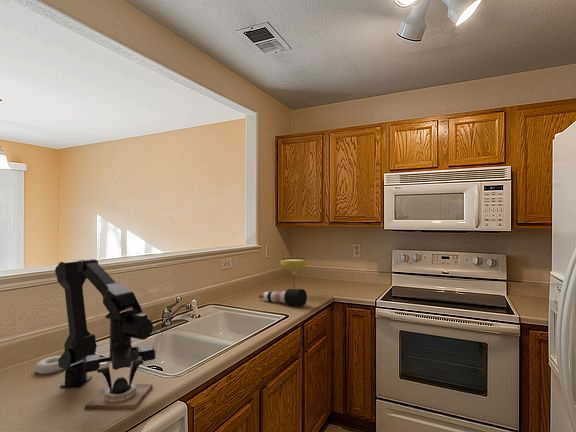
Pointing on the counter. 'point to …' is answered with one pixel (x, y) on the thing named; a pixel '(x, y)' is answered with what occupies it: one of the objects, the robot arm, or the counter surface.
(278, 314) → the counter surface
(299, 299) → the bottle
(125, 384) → the egg
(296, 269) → the cocktail glass
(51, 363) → the donut
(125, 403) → the egg stand
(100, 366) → the robot arm
